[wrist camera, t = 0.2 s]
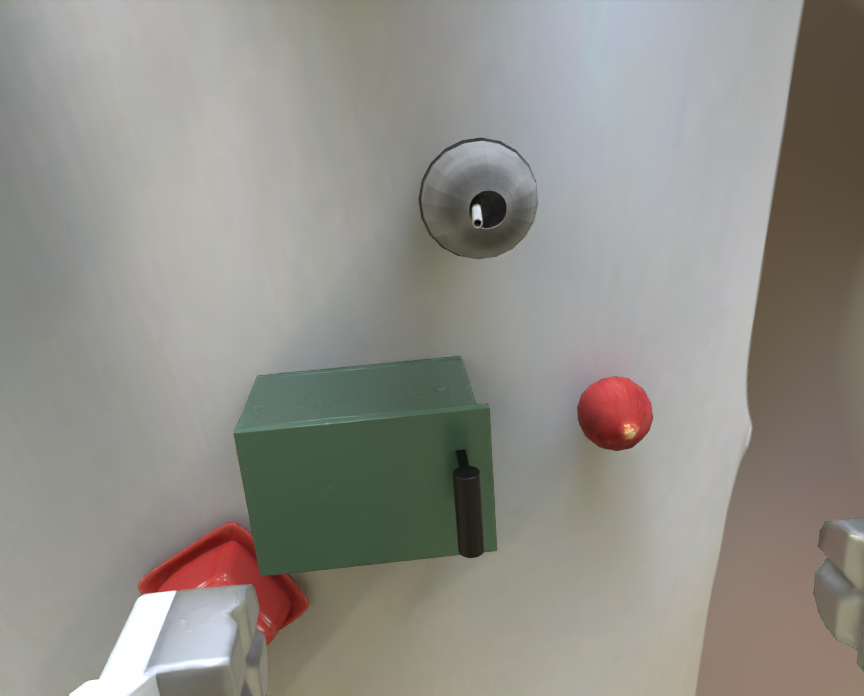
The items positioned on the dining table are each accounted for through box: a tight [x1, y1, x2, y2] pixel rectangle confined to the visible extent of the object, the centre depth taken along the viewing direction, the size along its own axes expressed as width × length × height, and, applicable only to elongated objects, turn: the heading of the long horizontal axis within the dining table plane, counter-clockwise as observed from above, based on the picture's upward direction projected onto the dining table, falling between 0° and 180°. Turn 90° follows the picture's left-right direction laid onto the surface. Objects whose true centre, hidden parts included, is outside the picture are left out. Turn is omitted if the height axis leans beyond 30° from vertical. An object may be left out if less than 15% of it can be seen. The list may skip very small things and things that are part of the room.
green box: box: [236, 356, 476, 428], centre depth 57 cm, size 17×12×10 cm
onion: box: [577, 376, 653, 451], centre depth 58 cm, size 6×6×8 cm
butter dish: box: [138, 522, 309, 645], centre depth 62 cm, size 12×12×8 cm
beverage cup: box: [419, 138, 538, 259], centre depth 46 cm, size 7×7×20 cm
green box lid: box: [234, 403, 497, 576], centre depth 50 cm, size 17×12×5 cm, turn 94°
